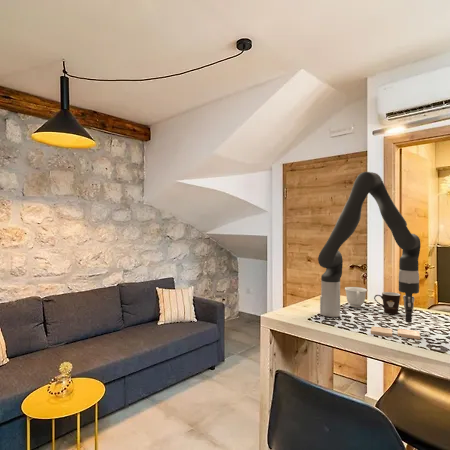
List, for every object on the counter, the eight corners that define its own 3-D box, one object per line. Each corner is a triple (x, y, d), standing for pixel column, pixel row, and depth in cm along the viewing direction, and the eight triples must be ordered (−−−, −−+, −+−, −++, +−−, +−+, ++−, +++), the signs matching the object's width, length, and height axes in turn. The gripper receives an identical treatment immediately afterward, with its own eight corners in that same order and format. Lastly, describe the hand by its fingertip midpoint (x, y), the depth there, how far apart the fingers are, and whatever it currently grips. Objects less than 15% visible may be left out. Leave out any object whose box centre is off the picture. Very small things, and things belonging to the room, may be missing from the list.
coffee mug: (403, 313, 168) (403, 294, 168) (395, 316, 163) (395, 296, 163) (381, 308, 177) (381, 290, 177) (373, 310, 172) (373, 292, 172)
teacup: (346, 309, 174) (346, 291, 174) (342, 303, 189) (342, 286, 189) (370, 311, 172) (370, 292, 172) (364, 304, 186) (365, 287, 186)
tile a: (371, 330, 142) (370, 334, 136) (371, 326, 142) (370, 330, 136) (392, 332, 138) (392, 337, 132) (392, 329, 138) (392, 333, 132)
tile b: (397, 332, 139) (397, 337, 133) (397, 328, 139) (397, 333, 133) (419, 335, 136) (420, 340, 129) (419, 331, 136) (420, 336, 129)
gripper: (398, 277, 144) (398, 316, 143) (399, 282, 132) (398, 324, 132) (417, 279, 140) (417, 319, 140) (420, 284, 128) (420, 327, 128)
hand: (408, 321), depth 136 cm, fingers closed
